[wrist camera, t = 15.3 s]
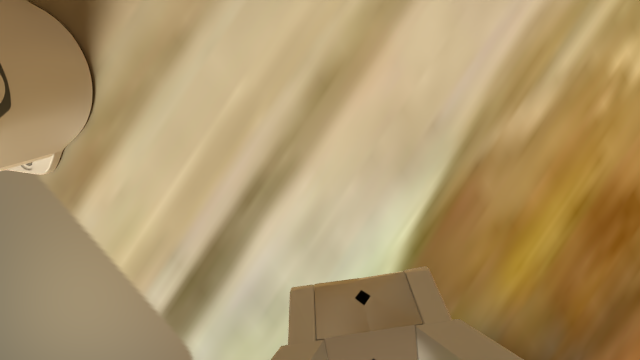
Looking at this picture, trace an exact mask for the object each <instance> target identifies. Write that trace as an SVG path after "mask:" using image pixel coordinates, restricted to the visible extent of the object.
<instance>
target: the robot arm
mask: <svg viewBox="0 0 640 360" xmlns="http://www.w3.org/2000/svg"><path fill="white" fill-rule="evenodd" d="M92 94H93V91H92V80H91V75H90V71H89V67H88V64H87V62H86V59H85V57H84V55H83V53H82V51H81V49H80V47H79V45H78V44H77V42H76V41H75V39H74V38H73V36H72V35H71V34H70V33H69V31H68V30H67V29H66V28H65V27H64V26H63V25H62V24H61V23H60V22H59V21H58V20H56V19H55V18H54V17H53V16H51V15H50V14H49V13H47V12H46V11H44V10H42V9H40V8H39V7H37V6H35V5H33V4H31V3H30V2H28V1H27V0H0V171H3V170H11V171H18V172H24V173H32V174H38V175H42V174H47V173H51V172H52V171H54V170H55V168H56V167H57V165H58V162H59V160H60V157H61V154H62V151H63V149H64V148H65V147H66V146H67V145H68V144H69V143H70V142H71V141H72V140H73V139H74V138H75V137H76V136H77V135H78V134H79V133H80V132H81V130H82V129H83V127H84V125H85V124H86V122H87V119H88V117H89V114H90V110H91V105H92ZM31 162H32V163H31ZM271 360H523V359H522V358H520V357H519V356H517V355H515V354H514V353H512V352H511V351H509V350H507V349H506V348H504V347H503V346H501V345H500V344H498V343H496V342H495V341H493V340H492V339H490V338H489V337H487V336H485V335H484V334H482V333H481V332H479V331H477V330H476V329H474V328H473V327H471V326H470V325H468V324H466V323H465V322H463V321H462V320H460V319H456V320H452V319H451V317H450V314H449V312H448V310H447V308H446V305H445V303H444V301H443V299H442V297H441V294H440V292H439V290H438V288H437V285H436V283H435V281H434V279H433V277H432V274H431V272H430V270H429V268H427V267H420V268H415V269H409V270H404V271H401V272H395V273H389V274H383V275H377V276H371V277H364V278H357V279H349V280H342V281H334V282H327V283H319V284H315V285H307V286H300V287H293V288H291V291H290V307H289V337H288V345H285V346H281V347H280V348H279V350H278V351H277V352H276V354H275V355H274V356H273V358H272V359H271Z"/></svg>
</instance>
